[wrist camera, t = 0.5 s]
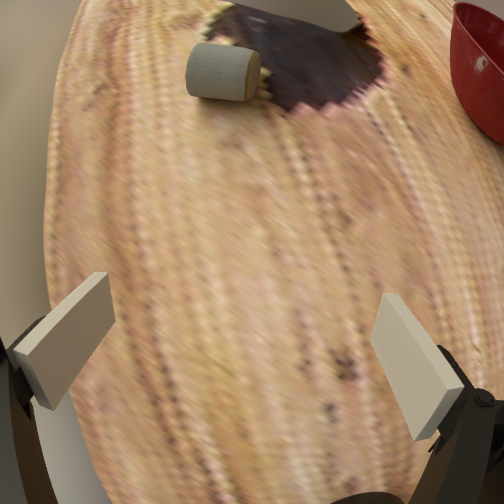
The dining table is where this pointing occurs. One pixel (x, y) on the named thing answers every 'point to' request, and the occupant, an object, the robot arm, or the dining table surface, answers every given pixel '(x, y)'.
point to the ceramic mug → (222, 72)
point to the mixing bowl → (479, 66)
